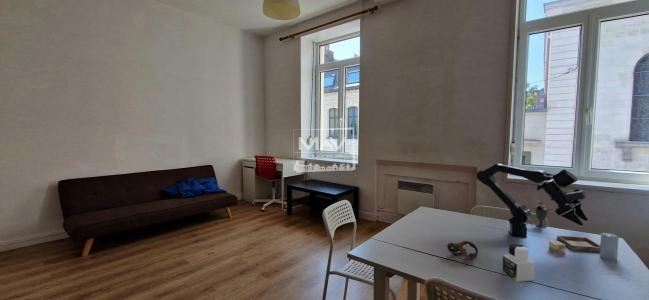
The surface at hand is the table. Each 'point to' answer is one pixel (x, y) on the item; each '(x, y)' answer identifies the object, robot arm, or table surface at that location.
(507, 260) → the white stepped box
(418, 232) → the table surface
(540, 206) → the sundae
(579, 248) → the tray
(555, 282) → the table surface
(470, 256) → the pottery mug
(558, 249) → the beech cube
